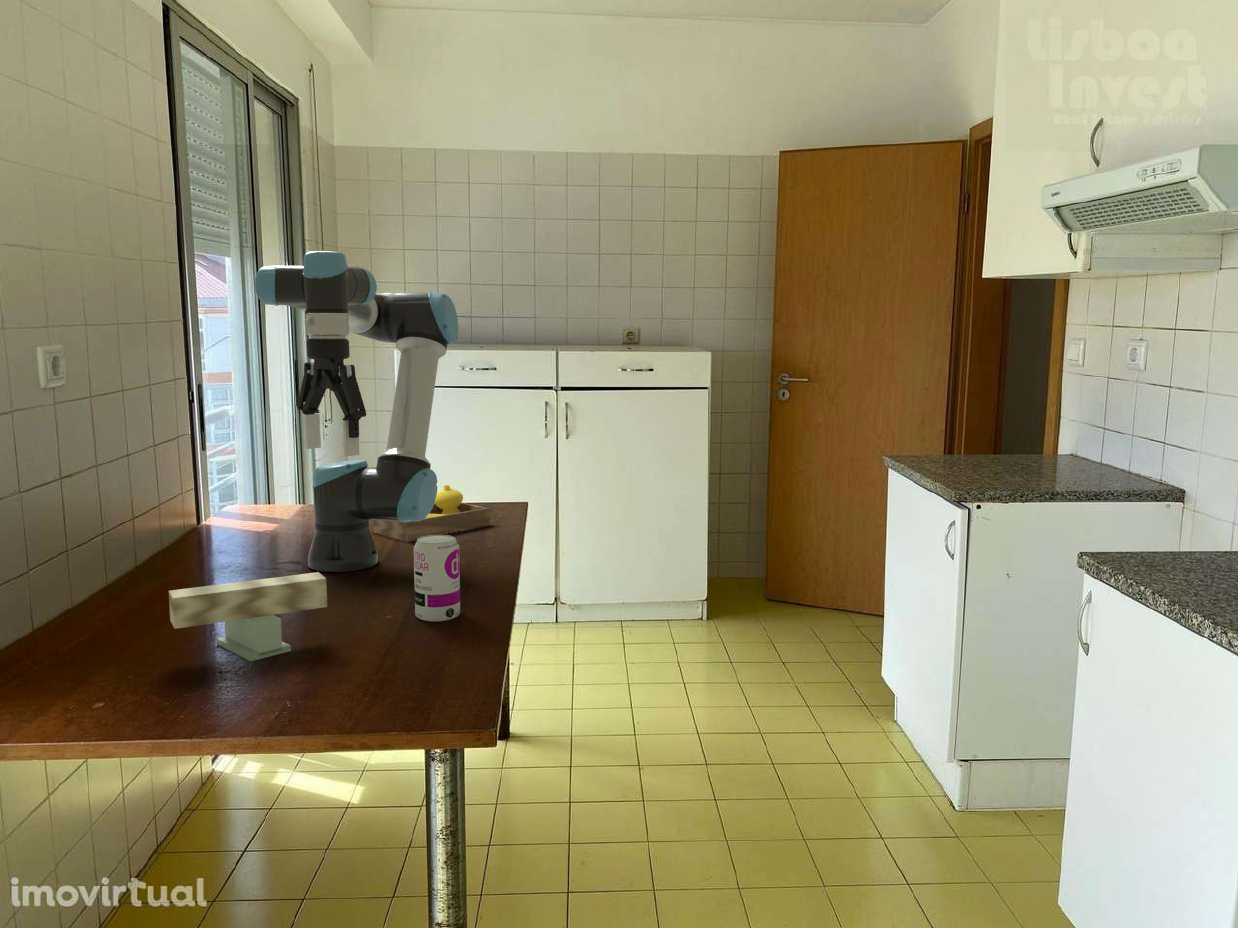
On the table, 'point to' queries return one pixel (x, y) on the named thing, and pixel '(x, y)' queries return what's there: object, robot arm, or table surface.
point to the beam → (246, 599)
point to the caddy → (434, 523)
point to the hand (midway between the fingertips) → (332, 452)
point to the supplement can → (437, 578)
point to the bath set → (447, 501)
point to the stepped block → (254, 637)
